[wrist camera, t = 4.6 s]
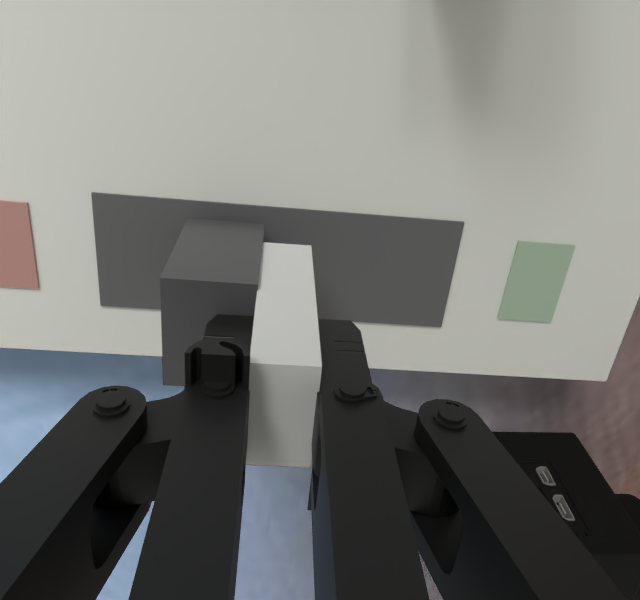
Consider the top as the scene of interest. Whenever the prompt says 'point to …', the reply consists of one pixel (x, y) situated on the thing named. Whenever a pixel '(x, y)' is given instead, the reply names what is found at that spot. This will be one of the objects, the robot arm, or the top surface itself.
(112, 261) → the breaker panel
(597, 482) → the digital camera
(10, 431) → the top surface
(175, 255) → the block
